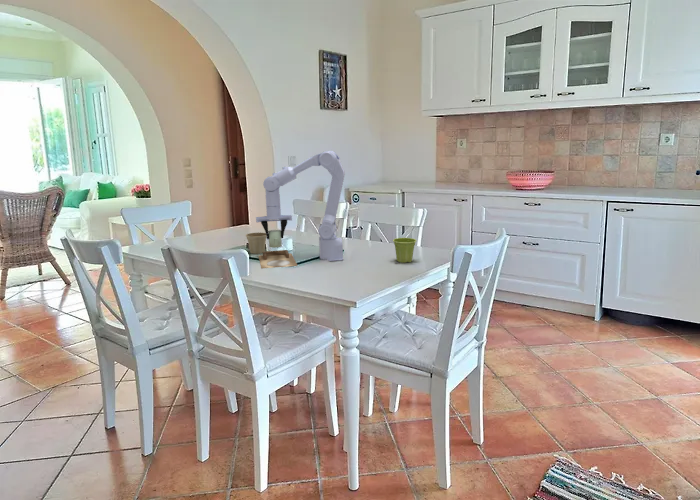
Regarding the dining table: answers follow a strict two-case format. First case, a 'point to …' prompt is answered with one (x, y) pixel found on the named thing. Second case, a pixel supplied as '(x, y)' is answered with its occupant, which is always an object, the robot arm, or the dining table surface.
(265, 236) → the flower pot
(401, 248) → the plant pot
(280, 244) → the sage green cylinder
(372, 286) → the dining table surface
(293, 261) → the board
